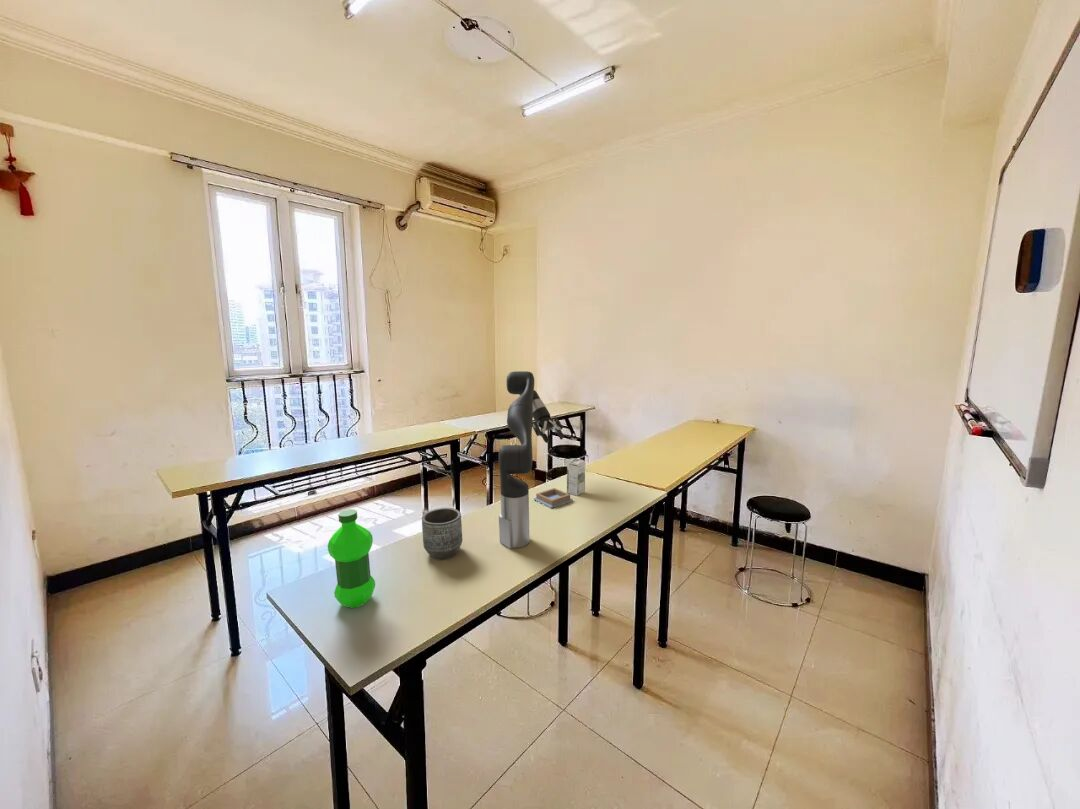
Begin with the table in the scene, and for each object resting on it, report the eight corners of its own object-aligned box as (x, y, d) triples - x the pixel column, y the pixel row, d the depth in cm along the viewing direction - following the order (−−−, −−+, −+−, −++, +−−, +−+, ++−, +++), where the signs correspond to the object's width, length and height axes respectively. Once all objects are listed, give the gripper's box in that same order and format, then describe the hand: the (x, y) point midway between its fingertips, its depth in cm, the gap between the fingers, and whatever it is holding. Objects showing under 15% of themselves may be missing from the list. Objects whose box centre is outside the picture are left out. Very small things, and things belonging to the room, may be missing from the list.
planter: (428, 567, 128) (426, 527, 126) (420, 549, 139) (417, 512, 136) (467, 556, 133) (466, 518, 131) (456, 540, 144) (455, 504, 142)
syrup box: (574, 489, 188) (574, 457, 186) (585, 492, 185) (585, 460, 182) (566, 493, 184) (566, 461, 181) (577, 496, 180) (578, 463, 178)
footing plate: (550, 508, 168) (550, 502, 168) (533, 500, 177) (533, 493, 176) (572, 500, 176) (572, 494, 175) (555, 493, 184) (555, 487, 184)
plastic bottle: (366, 585, 119) (358, 501, 115) (384, 601, 112) (376, 512, 108) (329, 602, 112) (319, 513, 108) (345, 620, 105) (335, 525, 100)
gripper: (529, 408, 188) (546, 438, 182) (554, 404, 197) (571, 432, 191) (523, 418, 193) (539, 447, 187) (546, 413, 202) (563, 441, 196)
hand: (555, 440), depth 189 cm, fingers open, 8 cm apart
